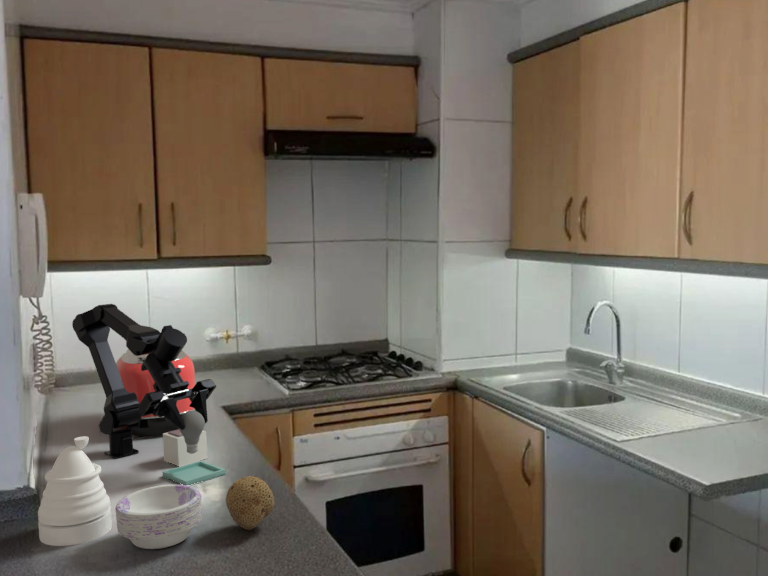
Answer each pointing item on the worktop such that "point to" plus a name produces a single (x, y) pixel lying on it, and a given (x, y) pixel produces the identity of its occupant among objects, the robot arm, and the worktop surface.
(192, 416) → the light bulb
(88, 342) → the robot arm
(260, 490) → the natural sponge
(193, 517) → the paper bowls
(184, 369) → the toaster
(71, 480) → the honey pot
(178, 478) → the tray
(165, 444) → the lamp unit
